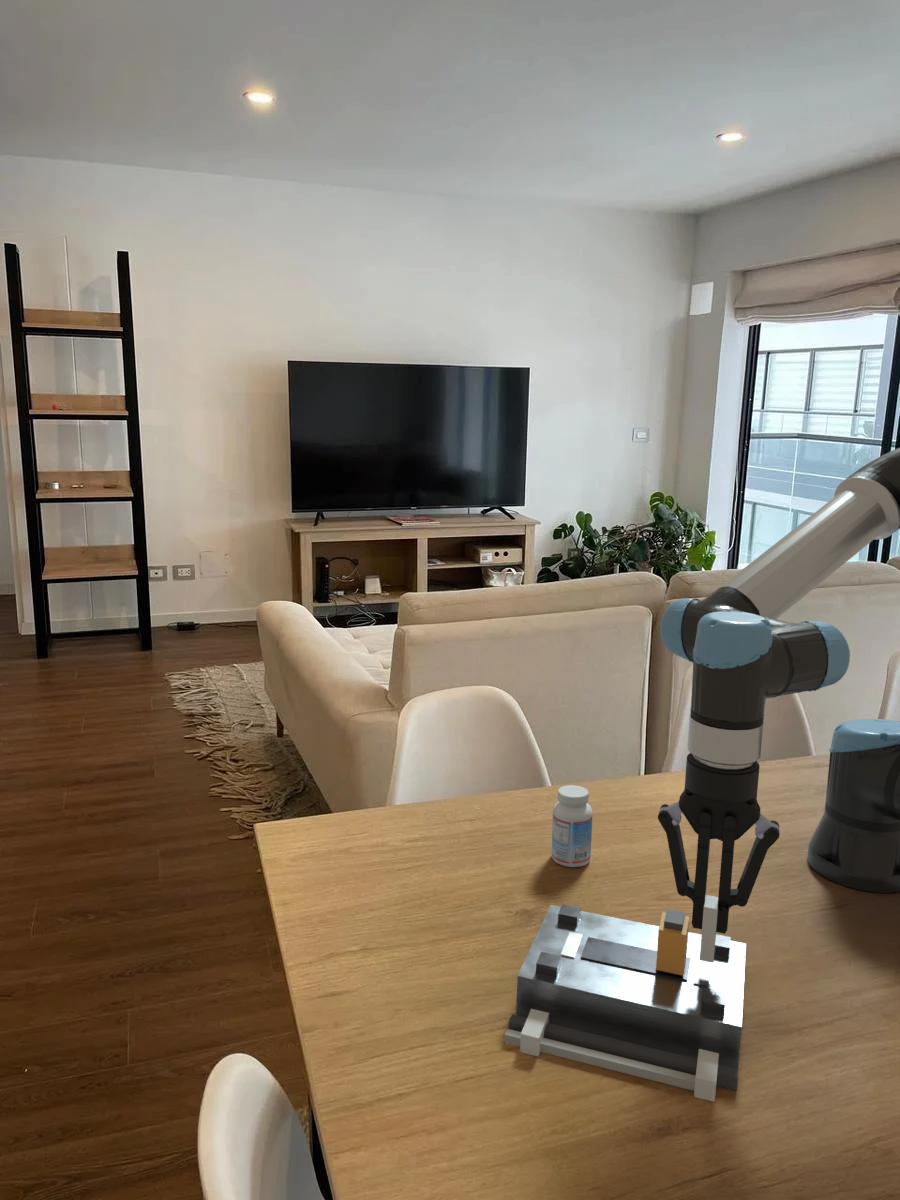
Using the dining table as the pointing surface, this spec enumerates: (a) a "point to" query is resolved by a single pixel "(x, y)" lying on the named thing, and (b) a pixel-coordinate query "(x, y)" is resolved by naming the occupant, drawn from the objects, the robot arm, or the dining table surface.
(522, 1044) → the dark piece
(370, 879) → the dining table surface
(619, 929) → the panel
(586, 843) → the pill bottle
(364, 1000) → the dining table surface
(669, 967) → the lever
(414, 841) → the dining table surface
